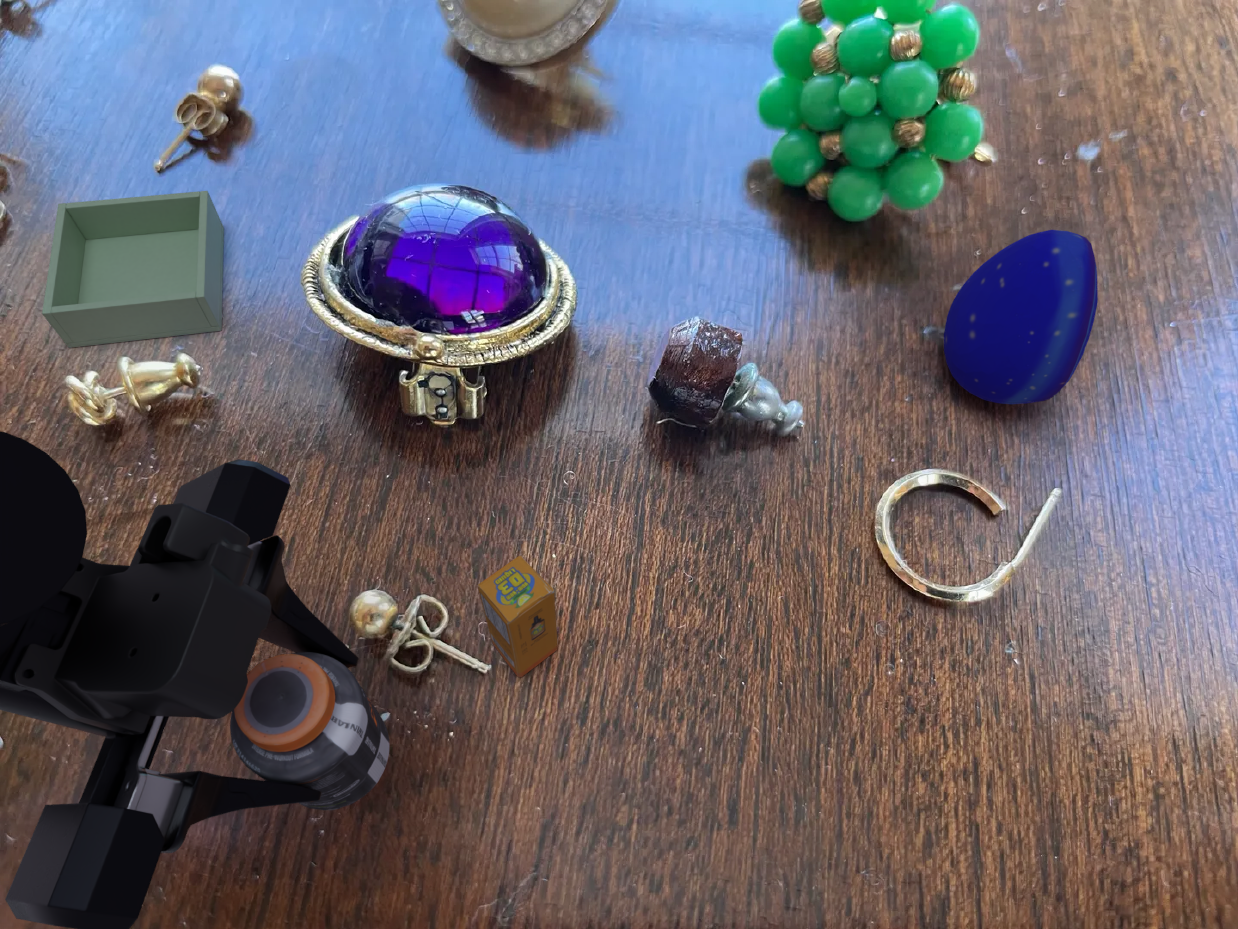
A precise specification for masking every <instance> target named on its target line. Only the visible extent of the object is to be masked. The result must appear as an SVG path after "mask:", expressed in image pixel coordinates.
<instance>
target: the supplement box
mask: <svg viewBox="0 0 1238 929" xmlns="http://www.w3.org/2000/svg"><path fill="white" fill-rule="evenodd" d="M477 589H478V594H479V597H480V601H481V605H482V609H483V613H484V616H485V621H486V625H487V629H488V632H489V636H490V639H491V642H492V645H493V646H494V647H495V649H496V650H497V653H499V654H500V656H501V657H502V659H503V660H504V661H505V663H506V664H507V665H508V667H509V668H510V669H511V670H512V672H513V673H514V674H515V675H516V676H517V677H518V678H523V677H524V676H525V675H526V674H528V673H529V672H530V671H532V670H533V669H535V668H536V667H537V666H538V665H540V664H541V663H542V662H544V661H545V660H546V659H547V658H549V657H550V656H551V655H552V654H554V653H555V652H556V651H557V650H558V649H559V646H558V631H557V630H558V628H557V615H556V614H557V613H556V598H555V597H556V596H555V595H556V594H555V592H556V591H555V589H554V588H553V586H551V584H549V583H548V582H547V581H546V579H544V578H543V577H542V576H541V575H540V574H539V573H538V572H537V571H536V570H535V569H534V568H533V566H531V565H530V564H529V563H528V562H527V560H526V559H524V557H523V556H522V555H518V556H517V557H515V558H514V559H512V560H511V561H510V562H508V563H507V564H505V565H503V566H501V568H500V569H498V570H496V571H495V572H494V573H492V574H491V575H489V576H488V577H487V578H485V579H483V580H482V581H480V583H478V584H477Z"/></svg>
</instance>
